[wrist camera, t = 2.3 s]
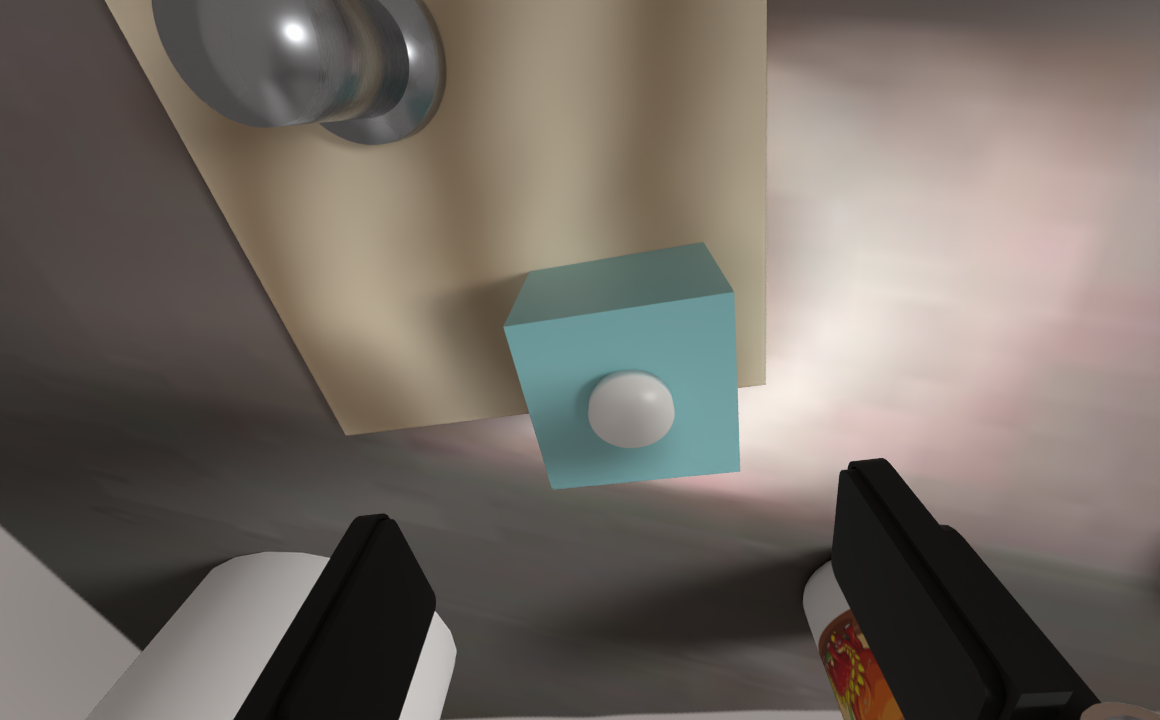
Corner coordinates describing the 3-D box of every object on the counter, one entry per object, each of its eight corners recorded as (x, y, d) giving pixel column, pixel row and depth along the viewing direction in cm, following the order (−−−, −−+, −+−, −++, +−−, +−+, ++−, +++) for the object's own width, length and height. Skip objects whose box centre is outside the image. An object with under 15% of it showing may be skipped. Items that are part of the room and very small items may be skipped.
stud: (414, -62, 12) (282, -165, 7) (466, 125, 14) (390, 142, 9) (264, -18, 13) (52, -87, 8) (335, 155, 15) (203, 183, 10)
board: (752, -313, 10) (768, -359, 9) (757, 368, 19) (765, 384, 18) (91, -89, 13) (46, -105, 12) (359, 419, 22) (346, 435, 21)
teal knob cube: (703, 241, 15) (739, 299, 11) (713, 390, 18) (743, 483, 14) (529, 271, 16) (499, 335, 12) (564, 409, 19) (550, 500, 15)
